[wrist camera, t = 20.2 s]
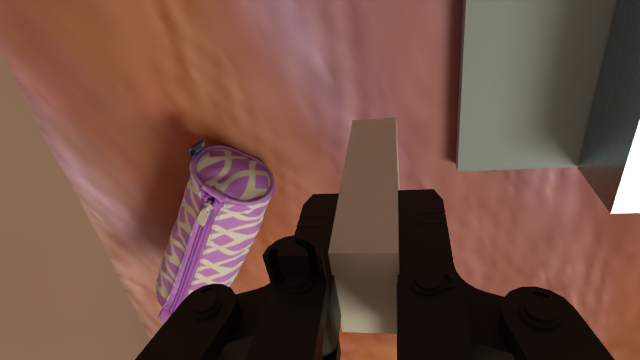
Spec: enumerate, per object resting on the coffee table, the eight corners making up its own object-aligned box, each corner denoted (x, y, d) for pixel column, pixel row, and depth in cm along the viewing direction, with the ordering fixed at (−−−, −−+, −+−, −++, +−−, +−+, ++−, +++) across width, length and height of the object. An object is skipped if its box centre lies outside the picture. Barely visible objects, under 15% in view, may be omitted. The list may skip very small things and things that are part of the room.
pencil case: (207, 123, 43) (166, 171, 35) (289, 158, 43) (266, 212, 36) (173, 256, 55) (137, 313, 47) (237, 281, 56) (212, 341, 48)
